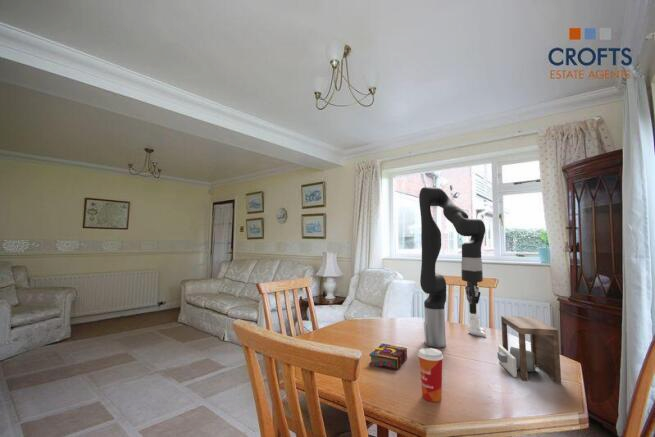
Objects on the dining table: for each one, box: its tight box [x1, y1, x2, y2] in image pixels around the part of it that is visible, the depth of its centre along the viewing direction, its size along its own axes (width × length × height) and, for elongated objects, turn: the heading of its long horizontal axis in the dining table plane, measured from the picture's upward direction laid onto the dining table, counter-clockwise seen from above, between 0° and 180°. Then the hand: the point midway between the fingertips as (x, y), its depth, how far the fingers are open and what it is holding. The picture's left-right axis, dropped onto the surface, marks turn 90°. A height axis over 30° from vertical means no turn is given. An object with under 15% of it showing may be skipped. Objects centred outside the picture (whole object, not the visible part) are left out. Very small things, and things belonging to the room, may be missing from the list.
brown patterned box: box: [369, 343, 408, 371], centre depth 123 cm, size 11×16×5 cm
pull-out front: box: [497, 344, 518, 378], centre depth 115 cm, size 3×14×6 cm, turn 169°
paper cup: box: [417, 347, 444, 403], centre depth 95 cm, size 8×8×14 cm
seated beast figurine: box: [467, 311, 487, 338], centre depth 160 cm, size 10×9×12 cm
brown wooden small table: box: [500, 315, 562, 384], centre depth 114 cm, size 12×18×18 cm, turn 169°
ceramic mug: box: [509, 346, 536, 373], centre depth 117 cm, size 11×8×8 cm
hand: (472, 313), depth 119 cm, fingers closed
